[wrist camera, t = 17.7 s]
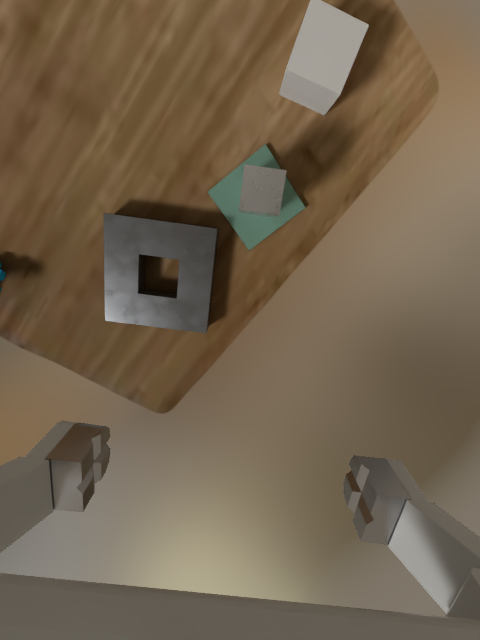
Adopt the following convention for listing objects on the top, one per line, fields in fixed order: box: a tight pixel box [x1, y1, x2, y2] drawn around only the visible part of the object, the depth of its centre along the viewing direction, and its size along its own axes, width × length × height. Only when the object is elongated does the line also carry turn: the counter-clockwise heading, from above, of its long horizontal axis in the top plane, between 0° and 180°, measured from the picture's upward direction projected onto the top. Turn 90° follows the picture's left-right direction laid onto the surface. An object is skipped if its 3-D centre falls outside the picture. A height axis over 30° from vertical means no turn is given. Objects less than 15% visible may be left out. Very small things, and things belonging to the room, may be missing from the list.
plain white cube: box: [279, 0, 369, 116], centre depth 31 cm, size 6×6×6 cm
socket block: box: [104, 213, 219, 333], centre depth 40 cm, size 14×14×3 cm
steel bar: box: [239, 164, 287, 218], centre depth 33 cm, size 4×4×10 cm
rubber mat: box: [208, 144, 305, 250], centre depth 38 cm, size 9×9×1 cm
